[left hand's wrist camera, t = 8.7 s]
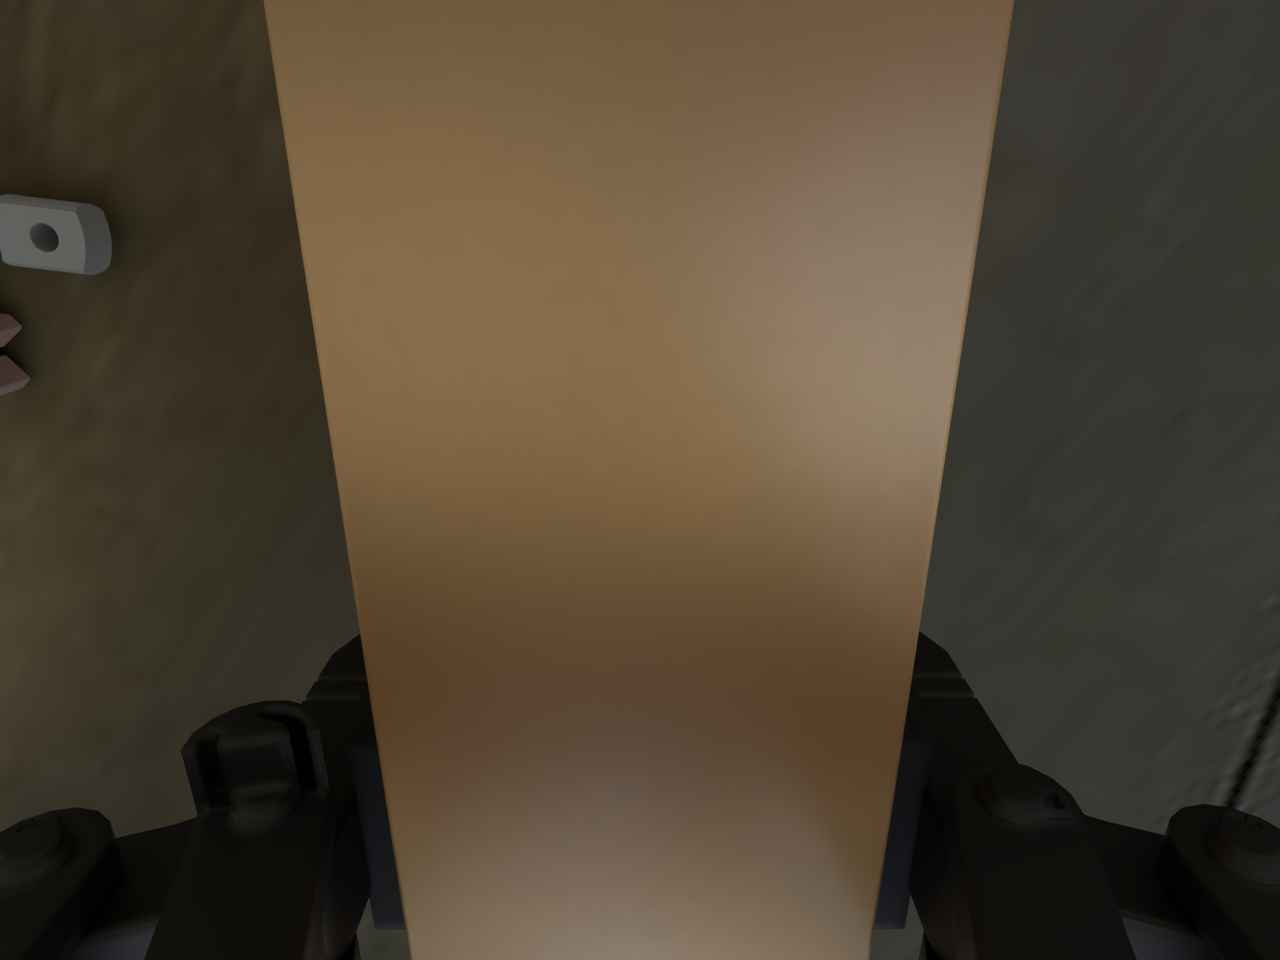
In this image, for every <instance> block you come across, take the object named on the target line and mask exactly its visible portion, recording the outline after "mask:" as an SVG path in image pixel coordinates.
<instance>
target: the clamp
mask: <svg viewBox="0 0 1280 960" xmlns="http://www.w3.org/2000/svg"><path fill="white" fill-rule="evenodd" d="M0 250H1V255H2V261H3V262H5V263H6V264H9V265H12V266H19V267H27V268H36V269H44V270H52V271H61V272H69V273H77V274H85V275H96V274H99V273H101V272H103V271H104V270H106V269H107V268H108V267H109V266H110V261H111V255H112V242H111V234H110V230H109V226H108V222H107V220H106V217H105V215H104V212H103V210H102V209H100V208H99V207H97V206H95V205H92V204H87V203H79V202H71V201H63V200H55V199H47V198H38V197H30V196H22V195H14V194H4V195H1V196H0ZM21 329H22V326H21V325H20V324H19V323H18V322H17V321H16V320H15V319H14V318H13V317H11V316H10V315H9V314H1V313H0V347H4V346H5V345H6V344H7V343H8V342H9V341H10V340H11V339H12V338H13V337H14V336H15V335H16V334H17V333H18V332H19V331H20V330H21ZM29 381H30V377H29V376H28V375H27V374H26V373H25V372H24V371H23V370H21V369H20V368H19V367H18V366H17V365H16V364H15V363H14V362H13V361H12V360H10V359H9V358H8V357H7V356H6V355H4V356H0V396H1V395H4V394H7V393H10V392H12V391H15V390H18V389H21V388H23V387H24V386H25V385H26V384H27V383H28V382H29Z"/></svg>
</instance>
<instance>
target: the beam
mask: <svg viewBox="0 0 1280 960" xmlns="http://www.w3.org/2000/svg"><path fill="white" fill-rule="evenodd" d="M263 2H264V9H265V15H266V22H267V28H268V35H269V41H270V48H271V54H272V61H273V67H274V74H275V80H276V87H277V93H278V100H279V107H280V113H281V120H282V126H283V133H284V139H285V146H286V152H287V159H288V165H289V172H290V178H291V185H292V191H293V198H294V204H295V211H296V217H297V224H298V231H299V237H300V244H301V250H302V257H303V263H304V270H305V276H306V283H307V289H308V296H309V302H310V309H311V315H312V322H313V328H314V335H315V341H316V348H317V355H318V361H319V368H320V374H321V381H322V387H323V394H324V400H325V407H326V413H327V420H328V426H329V433H330V439H331V446H332V452H333V459H334V465H335V472H336V479H337V485H338V492H339V498H340V505H341V511H342V518H343V524H344V531H345V537H346V544H347V550H348V557H349V563H350V570H351V576H352V583H353V589H354V596H355V603H356V609H357V616H358V622H359V629H360V635H361V642H362V648H363V655H364V661H365V668H366V674H367V681H368V687H369V694H370V700H371V707H372V713H373V720H374V727H375V733H376V740H377V746H378V753H379V759H380V766H381V772H382V779H383V785H384V792H385V798H386V805H387V811H388V818H389V824H390V831H391V837H392V844H393V851H394V857H395V864H396V870H397V877H398V883H399V890H400V896H401V903H402V909H403V916H404V922H405V929H406V935H407V942H408V948H409V955H410V960H869V958H870V951H871V944H872V938H873V931H874V924H875V918H876V911H877V905H878V898H879V891H880V885H881V878H882V872H883V865H884V858H885V852H886V845H887V839H888V832H889V825H890V819H891V812H892V806H893V799H894V792H895V786H896V779H897V772H898V766H899V759H900V753H901V746H902V739H903V733H904V726H905V720H906V713H907V706H908V700H909V693H910V687H911V680H912V673H913V667H914V660H915V654H916V647H917V640H918V634H919V627H920V620H921V614H922V607H923V601H924V594H925V587H926V581H927V574H928V568H929V561H930V554H931V548H932V541H933V535H934V528H935V521H936V515H937V508H938V501H939V495H940V488H941V482H942V475H943V468H944V462H945V455H946V449H947V442H948V435H949V429H950V422H951V416H952V409H953V402H954V396H955V389H956V383H957V376H958V369H959V363H960V356H961V349H962V343H963V336H964V330H965V323H966V316H967V310H968V303H969V297H970V290H971V283H972V277H973V270H974V264H975V257H976V250H977V244H978V237H979V231H980V224H981V217H982V211H983V204H984V197H985V191H986V184H987V178H988V171H989V164H990V158H991V151H992V145H993V138H994V131H995V125H996V118H997V112H998V105H999V98H1000V92H1001V85H1002V79H1003V72H1004V65H1005V59H1006V52H1007V45H1008V39H1009V32H1010V26H1011V19H1012V12H1013V6H1014V0H263Z"/></svg>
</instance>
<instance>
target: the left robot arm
mask: <svg viewBox="0 0 1280 960" xmlns="http://www.w3.org/2000/svg"><path fill="white" fill-rule="evenodd" d="M181 753H182V756H183V760H184V764H185V768H186V772H187V775H188V779H189V783H190V787H191V791H192V794H193V798H194V802H195V806H196V810H197V816H196V818H194V819H191V820H187V821H184V822H181V823H178V824H174V825H170V826H166V827H162V828H158V829H153V830H149V831H145V832H141V833H136V834H132V835H128V836H124V837H119V838H115V836H114V832H113V829H112V826H111V823H110V821H109V820H108V819H107V818H106V817H105V816H103V815H102V814H101V813H100V812H99V811H96V810H90V809H84V808H78V807H77V808H69V809H62V810H54V811H49V812H46V813H43V814H40V815H37V816H35V817H32V818H29V819H26V820H23V821H20V822H18V823H17V824H15V825H13V826H11V827H9V828H7V829H6V830H4V831H2V832H0V960H361V958H360V951H359V944H358V939H357V933H356V931H357V928H358V926H359V923H360V920H361V918H362V915H363V912H364V909H365V907H366V904H367V901H368V899H369V897H370V902H371V908H372V914H373V920H374V926H375V929H405V922H404V916H403V909H402V903H401V896H400V890H399V883H398V877H397V870H396V864H395V857H394V851H393V844H392V837H391V831H390V824H389V818H388V811H387V805H386V798H385V792H384V785H383V779H382V772H381V766H380V759H379V753H378V746H377V740H376V733H375V727H374V720H373V713H372V707H371V700H370V694H369V687H368V681H367V674H366V668H365V661H364V655H363V648H362V642H361V635H360V634H359V635H358V636H356V637H355V638H354V639H352V640H351V641H350V642H348V643H347V644H346V645H344V646H343V647H342V648H340V649H339V650H338V651H336V652H335V653H334V654H333V655H332V656H331V658H330V659H329V661H328V663H327V664H326V666H325V667H324V669H323V670H322V672H321V674H320V675H319V677H318V682H315V683H314V685H313V686H312V688H311V689H310V691H309V692H308V694H307V696H306V701H303V702H302V703H301V704H299V703H295V702H291V701H288V700H282V701H261V702H257V703H253V704H249V705H245V706H241V707H237V708H235V709H233V710H231V711H228V712H226V713H224V714H222V715H220V716H217V717H215V718H213V719H212V720H210V721H209V722H208V723H206V724H205V725H204V726H202V727H201V728H200V729H198V730H197V731H196V732H194V733H193V734H192V736H191V737H190V738H189V740H188V741H187V742H186V744H185V745H184V747H183V748H182V749H181ZM910 894H911V896H912V899H913V902H914V904H915V907H916V910H917V912H918V915H919V918H920V920H921V923H922V926H923V928H924V933H923V939H922V944H921V950H920V955H919V960H1280V829H1279V828H1277V827H1276V826H1274V825H1272V824H1270V823H1268V822H1266V821H1265V820H1263V819H1261V818H1259V817H1256V816H1253V815H1250V814H1247V813H1244V812H1241V811H1238V810H1235V809H1232V808H1229V807H1221V806H1214V805H1206V804H1201V805H1195V806H1189V807H1183V808H1181V809H1180V810H1179V811H1178V812H1177V813H1175V814H1174V815H1173V816H1172V817H1171V818H1170V821H1169V824H1168V827H1167V830H1166V833H1165V835H1162V834H1157V833H1153V832H1149V831H1144V830H1140V829H1136V828H1132V827H1127V826H1123V825H1119V824H1114V823H1110V822H1106V821H1103V820H1100V819H1096V818H1093V817H1090V816H1087V815H1084V814H1083V812H1082V811H1081V809H1080V807H1079V806H1078V804H1077V803H1076V801H1075V799H1074V798H1073V796H1072V795H1071V794H1070V793H1069V792H1068V791H1067V790H1065V789H1064V788H1063V787H1062V786H1061V785H1060V784H1058V783H1057V782H1056V781H1055V780H1054V779H1052V778H1050V777H1048V776H1047V775H1045V774H1043V773H1041V772H1039V771H1037V770H1035V769H1033V768H1031V767H1029V766H1025V765H1022V764H1018V762H1017V760H1016V759H1015V757H1014V756H1013V754H1012V753H1011V751H1010V749H1009V748H1008V746H1007V745H1006V743H1005V742H1004V740H1003V738H1002V737H1001V735H1000V734H999V732H998V731H997V729H996V728H995V726H994V724H993V723H992V721H991V720H990V718H989V717H988V715H987V713H986V712H985V710H984V709H983V707H982V706H981V704H980V702H979V701H978V699H977V698H974V693H973V692H972V690H971V688H970V687H969V685H968V684H967V682H966V681H965V679H962V674H961V673H960V671H959V670H958V668H957V666H956V665H955V663H954V662H953V660H952V659H951V657H950V656H949V654H948V652H947V651H945V650H944V649H943V648H941V647H940V646H939V645H937V644H936V643H935V642H933V641H932V640H931V639H929V638H928V637H927V636H925V635H924V634H923V633H921V632H919V634H918V640H917V647H916V654H915V660H914V667H913V673H912V680H911V687H910V693H909V700H908V706H907V713H906V720H905V726H904V733H903V739H902V746H901V753H900V759H899V766H898V772H897V779H896V786H895V792H894V799H893V806H892V812H891V819H890V825H889V832H888V839H887V845H886V852H885V858H884V865H883V872H882V878H881V885H880V891H879V898H878V905H877V911H876V918H875V924H874V929H905V923H906V917H907V911H908V905H909V899H910Z"/></svg>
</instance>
